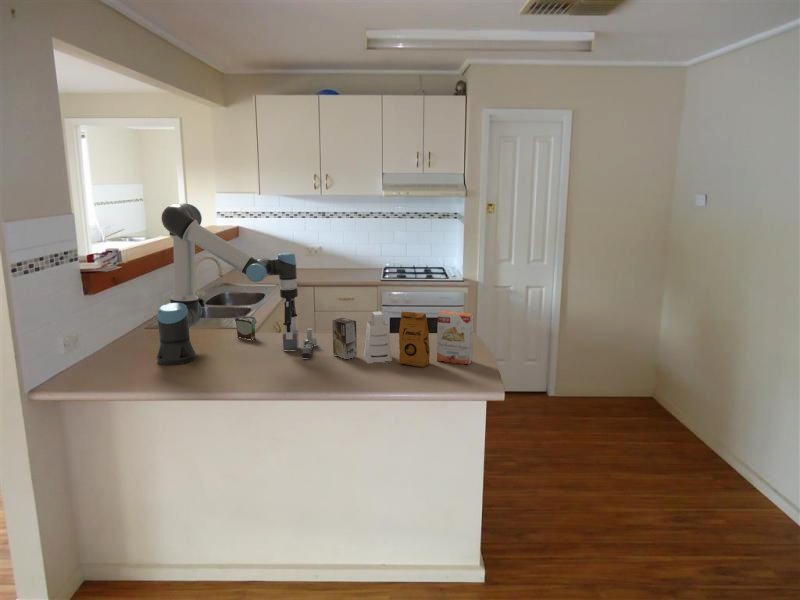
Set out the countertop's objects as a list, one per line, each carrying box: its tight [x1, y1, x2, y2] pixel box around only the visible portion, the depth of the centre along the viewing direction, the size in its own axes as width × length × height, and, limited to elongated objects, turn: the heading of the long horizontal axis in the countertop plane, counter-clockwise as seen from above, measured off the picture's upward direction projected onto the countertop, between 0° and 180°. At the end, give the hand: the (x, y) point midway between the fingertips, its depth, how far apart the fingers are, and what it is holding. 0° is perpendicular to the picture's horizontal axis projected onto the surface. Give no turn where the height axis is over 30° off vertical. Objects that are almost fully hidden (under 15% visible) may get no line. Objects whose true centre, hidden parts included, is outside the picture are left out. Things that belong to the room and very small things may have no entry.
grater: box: [363, 310, 393, 364], centre depth 235 cm, size 10×10×20 cm
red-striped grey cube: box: [282, 329, 300, 351], centre depth 250 cm, size 6×6×8 cm
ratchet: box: [301, 327, 318, 359], centre depth 247 cm, size 22×6×8 cm, turn 4°
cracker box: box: [436, 310, 474, 366], centre depth 231 cm, size 14×6×21 cm, turn 68°
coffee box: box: [331, 317, 358, 360], centre depth 238 cm, size 9×6×16 cm
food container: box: [234, 315, 258, 341], centre depth 268 cm, size 12×6×10 cm, turn 58°
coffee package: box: [398, 311, 431, 368], centre depth 228 cm, size 10×12×22 cm
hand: (291, 335), depth 249 cm, fingers open, 13 cm apart
